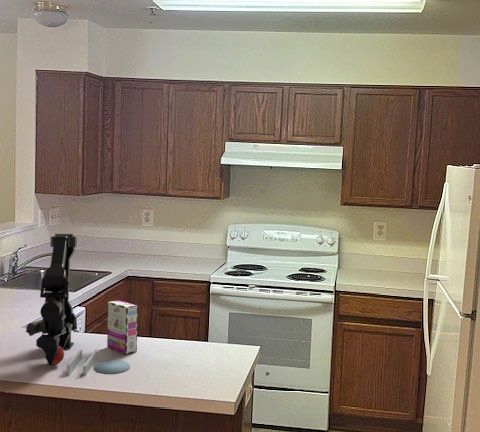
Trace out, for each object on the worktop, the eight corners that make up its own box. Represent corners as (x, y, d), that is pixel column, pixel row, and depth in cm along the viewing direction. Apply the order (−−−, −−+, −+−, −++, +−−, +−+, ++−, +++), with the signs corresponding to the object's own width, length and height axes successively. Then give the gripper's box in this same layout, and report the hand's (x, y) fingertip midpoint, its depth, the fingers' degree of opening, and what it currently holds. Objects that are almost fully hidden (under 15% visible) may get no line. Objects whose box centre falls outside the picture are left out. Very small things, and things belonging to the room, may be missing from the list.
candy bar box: (137, 352, 227) (138, 305, 225) (126, 354, 223) (126, 307, 222) (118, 344, 235) (118, 299, 233) (106, 347, 231) (107, 301, 229)
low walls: (79, 358, 218) (79, 349, 218) (97, 359, 218) (97, 350, 218) (66, 374, 202) (66, 365, 202) (85, 375, 202) (85, 366, 202)
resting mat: (99, 361, 216) (99, 360, 216) (132, 362, 216) (132, 361, 215) (91, 373, 205) (91, 371, 205) (126, 374, 205) (126, 372, 205)
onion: (65, 363, 213) (65, 338, 212) (61, 368, 207) (61, 344, 207) (47, 362, 213) (47, 338, 212) (42, 368, 207) (43, 343, 206)
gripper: (38, 304, 218) (38, 350, 219) (19, 319, 199) (19, 369, 201) (72, 306, 218) (71, 352, 219) (56, 320, 199) (55, 370, 201)
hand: (54, 360), depth 210 cm, fingers open, 9 cm apart
